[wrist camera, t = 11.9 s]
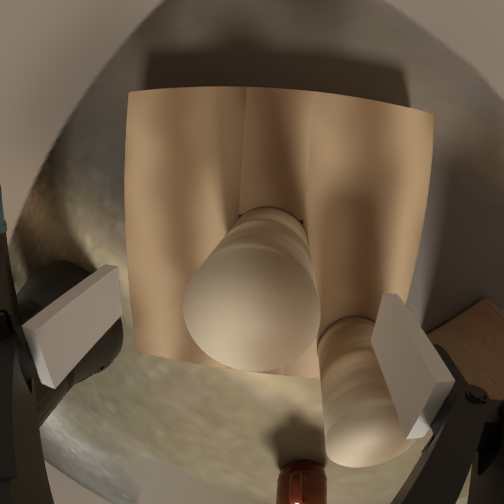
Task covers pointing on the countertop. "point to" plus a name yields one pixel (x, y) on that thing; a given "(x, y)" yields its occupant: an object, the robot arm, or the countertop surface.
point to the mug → (302, 484)
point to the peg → (256, 294)
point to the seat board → (296, 202)
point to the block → (476, 346)
